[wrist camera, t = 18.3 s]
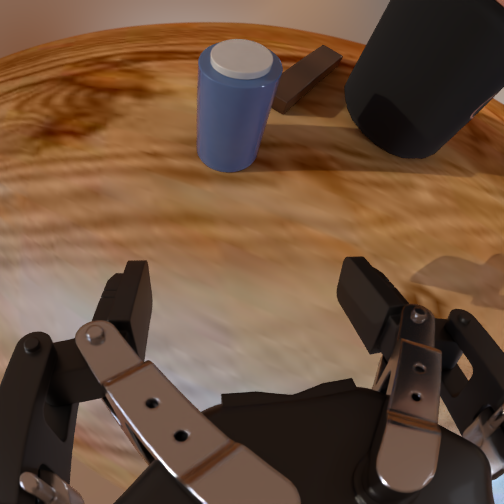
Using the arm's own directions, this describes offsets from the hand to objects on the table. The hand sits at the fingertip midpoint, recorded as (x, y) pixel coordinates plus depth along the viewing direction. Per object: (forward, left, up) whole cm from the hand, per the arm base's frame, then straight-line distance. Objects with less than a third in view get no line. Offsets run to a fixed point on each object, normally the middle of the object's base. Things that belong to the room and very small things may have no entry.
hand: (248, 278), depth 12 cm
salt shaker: (-8, -7, -6) cm, 12 cm away
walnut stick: (-19, -7, -6) cm, 21 cm away
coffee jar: (-22, +2, -6) cm, 23 cm away
